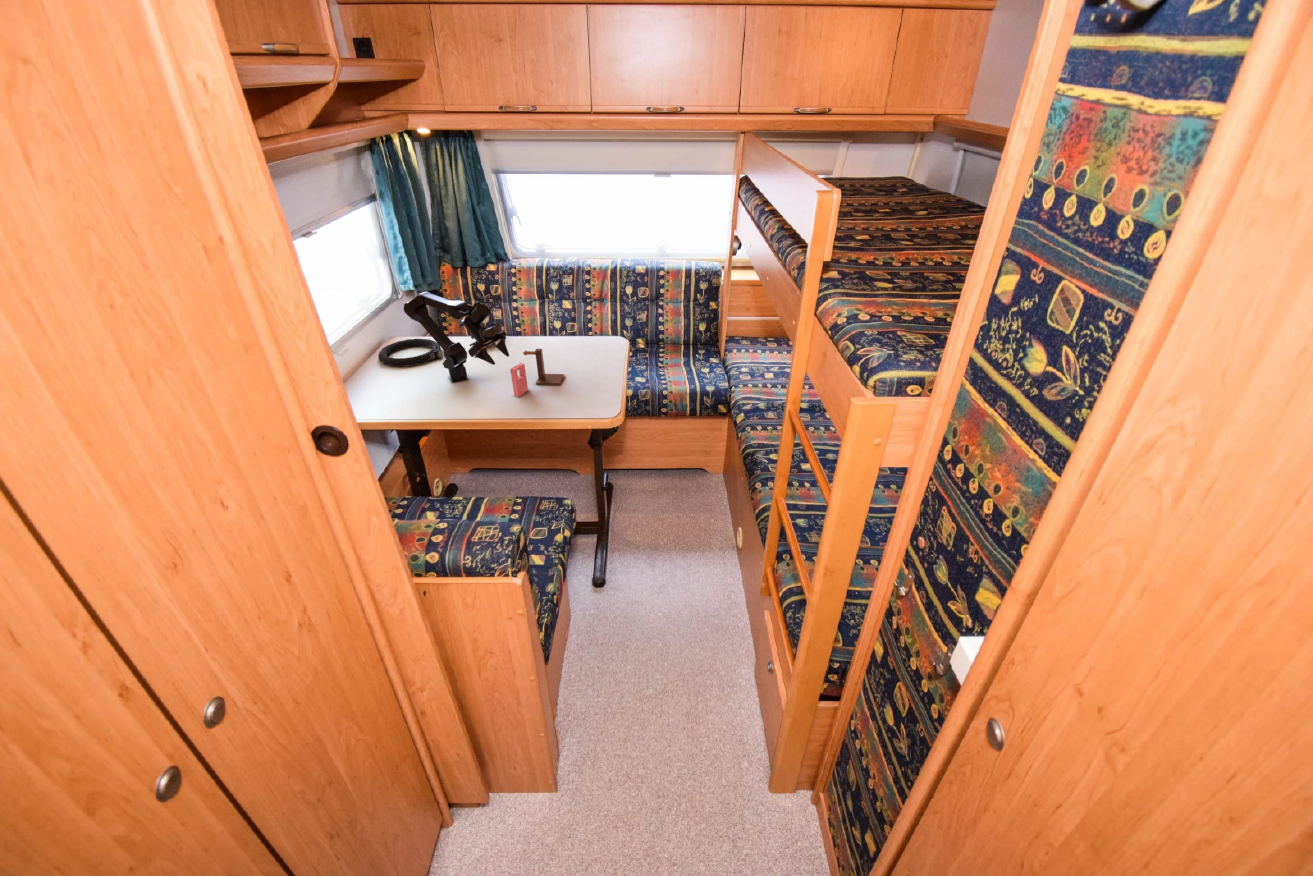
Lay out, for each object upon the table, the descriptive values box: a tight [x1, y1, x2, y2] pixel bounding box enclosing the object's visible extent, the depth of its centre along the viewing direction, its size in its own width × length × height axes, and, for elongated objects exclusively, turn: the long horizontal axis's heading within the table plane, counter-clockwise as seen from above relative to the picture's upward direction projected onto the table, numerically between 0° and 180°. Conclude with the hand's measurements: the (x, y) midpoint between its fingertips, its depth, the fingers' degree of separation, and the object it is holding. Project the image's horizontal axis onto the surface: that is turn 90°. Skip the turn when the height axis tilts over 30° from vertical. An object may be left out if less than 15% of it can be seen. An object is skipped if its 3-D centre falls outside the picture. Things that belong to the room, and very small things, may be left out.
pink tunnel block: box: [509, 362, 529, 398], centre depth 236 cm, size 2×6×12 cm, turn 154°
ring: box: [377, 338, 444, 367], centre depth 273 cm, size 28×4×30 cm
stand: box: [522, 348, 565, 386], centre depth 246 cm, size 15×9×14 cm, turn 86°
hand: (501, 360), depth 236 cm, fingers open, 9 cm apart
